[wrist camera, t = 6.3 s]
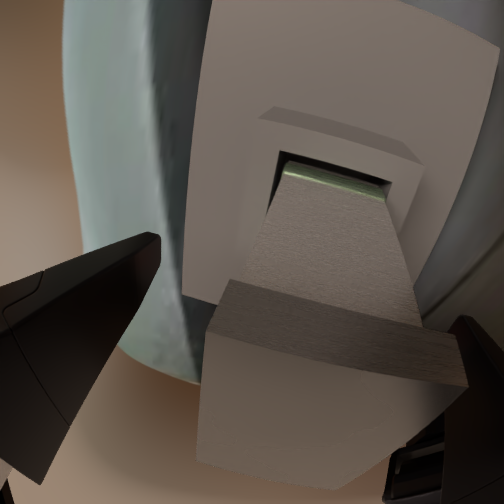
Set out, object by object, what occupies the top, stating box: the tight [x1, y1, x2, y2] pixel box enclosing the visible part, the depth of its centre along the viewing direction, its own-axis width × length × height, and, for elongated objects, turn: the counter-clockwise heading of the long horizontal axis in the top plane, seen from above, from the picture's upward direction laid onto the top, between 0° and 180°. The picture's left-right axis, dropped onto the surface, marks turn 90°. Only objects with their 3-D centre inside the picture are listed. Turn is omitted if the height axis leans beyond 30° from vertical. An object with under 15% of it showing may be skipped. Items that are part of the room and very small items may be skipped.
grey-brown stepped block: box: [196, 160, 469, 490], centre depth 9 cm, size 4×5×9 cm
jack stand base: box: [182, 0, 500, 305], centre depth 14 cm, size 14×20×6 cm
